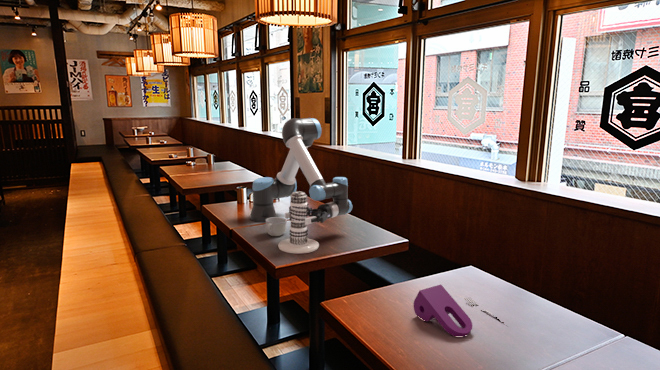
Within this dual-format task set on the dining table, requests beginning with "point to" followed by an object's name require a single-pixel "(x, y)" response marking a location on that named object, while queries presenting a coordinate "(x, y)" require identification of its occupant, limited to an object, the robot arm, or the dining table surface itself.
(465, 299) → the fork
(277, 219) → the teacup
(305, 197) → the decorative candle
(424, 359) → the dining table surface
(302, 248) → the candle plate
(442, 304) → the mounting bracket
